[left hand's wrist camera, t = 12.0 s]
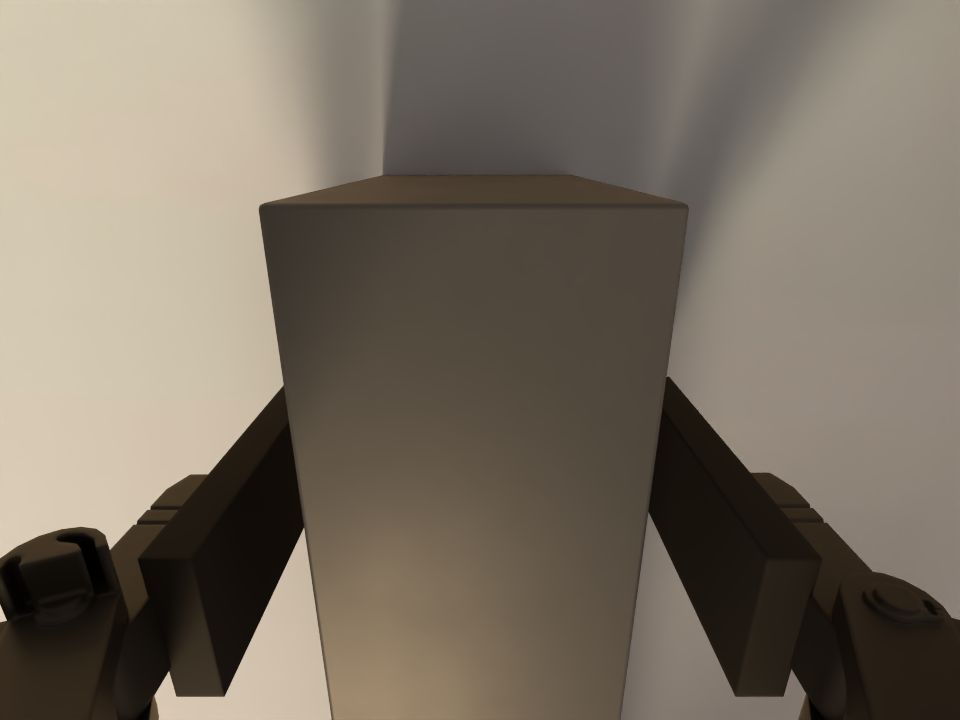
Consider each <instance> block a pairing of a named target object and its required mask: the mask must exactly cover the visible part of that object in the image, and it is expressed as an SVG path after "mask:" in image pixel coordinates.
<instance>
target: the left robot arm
mask: <svg viewBox="0 0 960 720" xmlns="http://www.w3.org/2000/svg"><path fill="white" fill-rule="evenodd" d="M648 511H649V513H650V516H651V518H652V520H653V522H654V524H655V526H656V528H657V530H658V533H659V535H660V537H661V539H662V541H663V543H664V545H665V548H666V550H667V552H668V554H669V556H670V558H671V560H672V562H673V565H674V567H675V569H676V571H677V573H678V575H679V577H680V579H681V582H682V584H683V586H684V588H685V590H686V592H687V594H688V596H689V599H690V601H691V603H692V605H693V607H694V609H695V611H696V613H697V616H698V618H699V620H700V622H701V624H702V626H703V628H704V630H705V633H706V635H707V637H708V639H709V641H710V643H711V645H712V647H713V650H714V652H715V654H716V656H717V658H718V660H719V662H720V665H721V667H722V669H723V671H724V673H725V675H726V677H727V679H728V682H729V684H730V686H731V688H732V690H733V692H734V694H735V696H736V697H783V696H784V693H785V689H786V686H787V682H788V679H789V675H790V672H791V669H792V670H793V672H794V674H795V675H796V677H797V679H798V680H799V682H800V684H801V685H802V687H803V689H804V690H805V692H806V697H805V700H804V703H803V706H802V710H801V713H800V716H799V720H960V620H958V619H954V618H951V616H950V615H949V614H948V612H947V611H946V610H945V608H944V607H943V606H942V605H941V604H940V603H939V602H937V601H936V600H935V599H934V598H932V597H931V596H930V595H929V594H927V593H926V592H925V591H923V590H921V589H919V588H917V587H915V586H914V585H912V584H910V583H908V582H906V581H904V580H901V579H898V578H895V577H892V576H889V575H887V574H883V573H876V572H872V571H871V569H870V568H869V567H868V566H867V565H866V564H865V563H864V562H863V561H862V560H861V559H860V558H859V557H858V556H857V555H856V553H855V552H854V551H853V550H852V549H851V548H850V547H849V546H848V545H847V544H846V543H845V542H844V541H843V540H842V539H841V537H840V536H839V535H838V534H837V533H836V532H835V531H834V530H833V529H832V528H831V527H830V526H829V525H828V524H827V523H824V522H823V518H822V517H821V516H820V515H819V514H818V513H817V512H816V511H815V510H814V509H813V508H810V504H809V503H808V502H807V501H806V500H805V499H804V498H803V497H802V496H801V495H800V494H799V493H798V492H797V490H796V489H795V488H794V487H792V486H790V485H789V484H787V483H786V482H784V481H782V480H781V479H779V478H777V477H776V476H774V475H773V474H771V473H750V472H749V471H748V470H747V468H746V467H745V466H744V465H743V464H742V463H741V461H740V460H739V459H738V458H737V457H736V455H735V454H734V453H733V452H732V451H731V450H730V448H729V447H728V446H727V445H726V444H725V442H724V441H723V440H722V439H721V438H720V437H719V435H718V434H717V433H716V432H715V431H714V429H713V428H712V427H711V426H710V425H709V423H708V422H707V421H706V420H705V419H704V418H703V416H702V415H701V414H700V413H699V412H698V410H697V409H696V408H695V407H694V406H693V405H692V403H691V402H690V401H689V400H688V399H687V397H686V396H685V395H684V394H683V393H682V391H681V390H680V389H679V388H678V387H677V386H676V384H675V383H674V382H673V381H672V380H671V378H670V377H666V383H665V390H664V398H663V405H662V413H661V420H660V428H659V435H658V442H657V450H656V457H655V465H654V472H653V480H652V487H651V495H650V502H649V510H648ZM303 528H304V522H303V515H302V508H301V501H300V494H299V487H298V480H297V473H296V466H295V459H294V452H293V445H292V438H291V431H290V424H289V417H288V410H287V403H286V396H285V389H284V386H283V387H282V388H281V389H280V390H279V391H278V393H277V394H276V395H275V396H274V397H273V399H272V400H271V401H270V402H269V403H268V405H267V406H266V407H265V408H264V409H263V410H262V412H261V413H260V414H259V415H258V416H257V418H256V419H255V420H254V421H253V422H252V423H251V425H250V426H249V427H248V428H247V429H246V431H245V432H244V433H243V434H242V435H241V436H240V438H239V439H238V440H237V441H236V442H235V444H234V445H233V446H232V447H231V448H230V450H229V451H228V452H227V453H226V454H225V455H224V457H223V458H222V459H221V460H220V461H219V463H218V464H217V465H216V466H215V467H214V468H213V470H212V471H211V472H210V473H209V474H208V475H189V476H187V477H186V478H184V479H183V480H181V481H179V482H178V483H176V484H175V485H173V486H171V487H170V488H168V489H167V490H166V491H165V492H164V493H163V494H162V495H161V496H160V497H159V498H158V499H157V500H156V501H155V502H154V504H153V505H152V506H151V509H150V510H147V511H146V512H145V513H144V514H143V515H142V516H141V517H140V519H139V520H138V521H137V525H133V526H132V527H131V528H130V529H129V530H128V531H127V533H126V534H125V535H124V536H123V537H122V538H121V539H120V540H119V541H118V542H117V543H116V544H115V545H114V546H113V548H112V549H111V550H109V546H108V543H107V540H106V536H105V535H104V534H103V533H101V532H100V531H99V530H97V529H93V528H85V527H77V528H69V529H61V530H58V531H54V532H51V533H48V534H45V535H41V536H38V537H36V538H34V539H32V540H30V541H28V542H26V543H24V544H22V545H19V546H17V547H16V548H14V549H13V550H12V551H10V552H9V553H7V554H6V555H4V556H3V557H2V558H0V605H1V607H2V610H3V612H4V614H5V617H6V619H7V621H4V622H0V720H159V715H158V708H157V703H156V700H155V697H154V695H155V693H156V692H157V690H158V688H159V687H160V685H161V683H162V682H163V680H164V678H165V677H166V675H167V673H168V672H170V675H171V679H172V682H173V686H174V689H175V693H176V696H177V697H224V696H225V694H226V692H227V690H228V688H229V686H230V684H231V682H232V679H233V677H234V675H235V673H236V671H237V669H238V667H239V664H240V662H241V660H242V658H243V656H244V654H245V652H246V650H247V647H248V645H249V643H250V641H251V639H252V637H253V635H254V633H255V630H256V628H257V626H258V624H259V622H260V620H261V618H262V616H263V613H264V611H265V609H266V607H267V605H268V603H269V601H270V599H271V596H272V594H273V592H274V590H275V588H276V586H277V584H278V582H279V579H280V577H281V575H282V573H283V571H284V569H285V567H286V565H287V562H288V560H289V558H290V556H291V554H292V552H293V550H294V547H295V545H296V543H297V541H298V539H299V537H300V535H301V533H302V530H303Z"/></svg>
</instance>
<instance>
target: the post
mask: <svg viewBox="0 0 960 720" xmlns="http://www.w3.org/2000/svg"><path fill="white" fill-rule="evenodd" d="M688 211H689V209H688V205H686V204H684V203H681V202H677V201H673V200H669V199H665V198H661V197H657V196H653V195H649V194H645V193H641V192H637V191H633V190H629V189H625V188H621V187H617V186H613V185H609V184H605V183H601V182H597V181H593V180H589V179H585V178H581V177H577V176H573V175H383V176H378V177H374V178H370V179H366V180H361V181H357V182H353V183H348V184H344V185H340V186H336V187H331V188H327V189H323V190H319V191H314V192H310V193H306V194H302V195H297V196H293V197H289V198H285V199H280V200H276V201H272V202H267V203H264V204H262V205H260V207H259V215H260V222H261V229H262V236H263V243H264V250H265V257H266V264H267V271H268V278H269V285H270V292H271V299H272V306H273V313H274V319H275V326H276V333H277V340H278V347H279V354H280V361H281V368H282V375H283V382H284V389H285V396H286V403H287V410H288V417H289V424H290V431H291V438H292V445H293V452H294V459H295V466H296V473H297V480H298V487H299V494H300V501H301V508H302V515H303V522H304V529H305V535H306V542H307V549H308V556H309V563H310V570H311V577H312V584H313V591H314V598H315V605H316V612H317V619H318V626H319V633H320V640H321V647H322V654H323V661H324V668H325V675H326V682H327V689H328V696H329V703H330V710H331V717H332V720H620V718H621V711H622V703H623V696H624V689H625V681H626V674H627V666H628V659H629V651H630V644H631V636H632V629H633V621H634V614H635V606H636V599H637V592H638V584H639V577H640V569H641V562H642V554H643V547H644V539H645V532H646V524H647V517H648V510H649V502H650V495H651V487H652V480H653V472H654V465H655V457H656V450H657V442H658V435H659V428H660V420H661V413H662V405H663V398H664V390H665V383H666V375H667V368H668V360H669V353H670V345H671V338H672V331H673V323H674V316H675V308H676V301H677V293H678V286H679V278H680V271H681V263H682V256H683V249H684V241H685V234H686V226H687V219H688Z"/></svg>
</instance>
